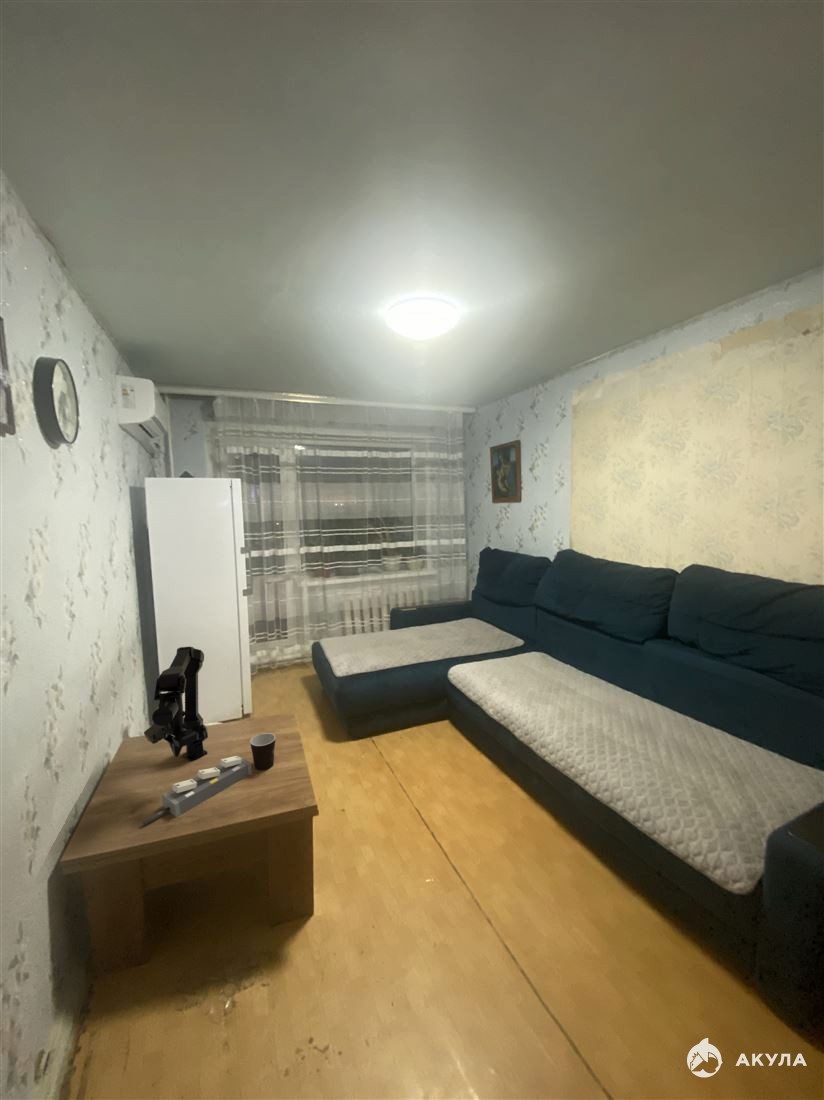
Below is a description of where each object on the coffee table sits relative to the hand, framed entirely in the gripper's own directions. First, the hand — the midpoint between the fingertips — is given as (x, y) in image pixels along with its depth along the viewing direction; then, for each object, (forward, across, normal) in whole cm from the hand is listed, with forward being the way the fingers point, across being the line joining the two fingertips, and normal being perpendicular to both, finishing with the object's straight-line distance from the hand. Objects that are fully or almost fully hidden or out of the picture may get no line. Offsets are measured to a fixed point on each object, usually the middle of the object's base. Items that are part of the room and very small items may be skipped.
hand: (176, 756), depth 145 cm
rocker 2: (+7, +8, +6) cm, 12 cm away
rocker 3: (+7, +8, +14) cm, 17 cm away
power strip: (+12, +8, +2) cm, 15 cm away
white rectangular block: (+7, +8, -2) cm, 11 cm away
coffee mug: (+12, +11, +26) cm, 31 cm away
